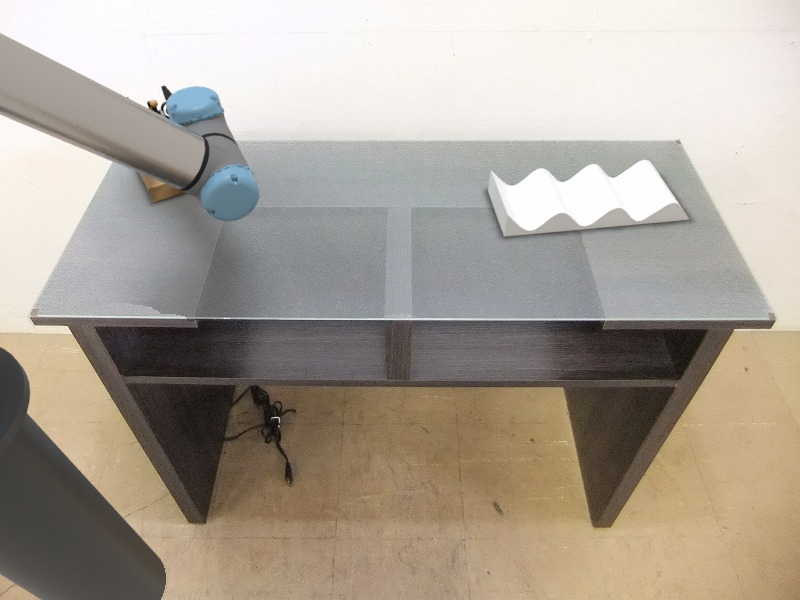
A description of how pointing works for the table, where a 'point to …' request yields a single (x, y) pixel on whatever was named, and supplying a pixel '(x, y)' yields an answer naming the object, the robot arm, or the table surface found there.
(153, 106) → the gold potted plant ornament
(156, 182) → the tray
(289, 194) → the table surface
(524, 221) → the white wavy block
